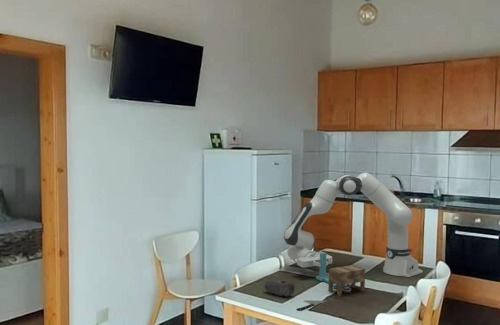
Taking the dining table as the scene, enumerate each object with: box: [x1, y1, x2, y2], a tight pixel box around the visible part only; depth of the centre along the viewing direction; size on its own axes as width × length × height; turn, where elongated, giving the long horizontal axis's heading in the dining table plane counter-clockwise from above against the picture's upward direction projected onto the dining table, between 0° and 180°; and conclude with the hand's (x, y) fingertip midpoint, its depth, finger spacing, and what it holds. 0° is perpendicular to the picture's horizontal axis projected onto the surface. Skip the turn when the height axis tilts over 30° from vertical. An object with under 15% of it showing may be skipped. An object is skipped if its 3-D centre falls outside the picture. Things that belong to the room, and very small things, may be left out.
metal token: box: [342, 286, 352, 294], centre depth 224 cm, size 4×4×2 cm
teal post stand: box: [315, 251, 346, 289], centre depth 235 cm, size 16×7×14 cm, turn 29°
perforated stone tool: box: [264, 279, 295, 298], centre depth 217 cm, size 15×5×7 cm, turn 57°
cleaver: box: [296, 299, 327, 312], centre depth 209 cm, size 29×1×10 cm
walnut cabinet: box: [327, 264, 366, 297], centre depth 224 cm, size 16×9×11 cm, turn 119°
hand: (323, 264), depth 239 cm, fingers closed on teal post stand, 2 cm apart
